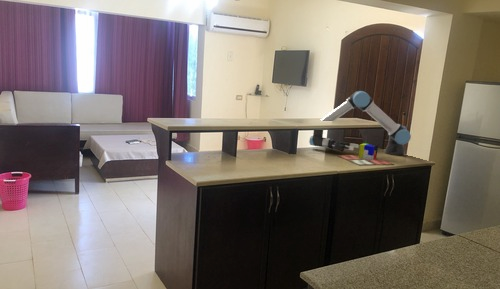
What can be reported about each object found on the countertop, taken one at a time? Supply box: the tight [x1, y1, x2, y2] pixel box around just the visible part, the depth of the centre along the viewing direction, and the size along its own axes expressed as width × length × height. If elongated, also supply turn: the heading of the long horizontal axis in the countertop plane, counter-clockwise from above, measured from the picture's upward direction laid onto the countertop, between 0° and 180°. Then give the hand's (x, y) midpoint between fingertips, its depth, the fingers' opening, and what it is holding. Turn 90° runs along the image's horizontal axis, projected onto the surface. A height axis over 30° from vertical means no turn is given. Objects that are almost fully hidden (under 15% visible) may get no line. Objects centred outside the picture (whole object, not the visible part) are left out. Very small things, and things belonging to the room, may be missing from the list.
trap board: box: [336, 154, 395, 166], centre depth 281 cm, size 29×29×1 cm
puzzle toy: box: [358, 142, 379, 160], centre depth 290 cm, size 10×10×10 cm
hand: (356, 147), depth 294 cm, fingers open, 13 cm apart
